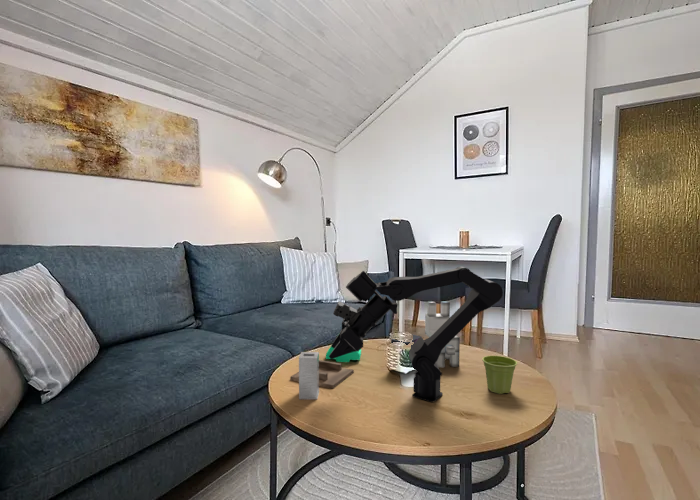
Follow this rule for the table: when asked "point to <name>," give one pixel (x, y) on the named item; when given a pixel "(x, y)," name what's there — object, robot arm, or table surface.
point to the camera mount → (345, 356)
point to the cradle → (329, 374)
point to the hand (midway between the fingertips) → (331, 352)
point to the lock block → (309, 375)
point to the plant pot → (499, 373)
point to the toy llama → (434, 323)
